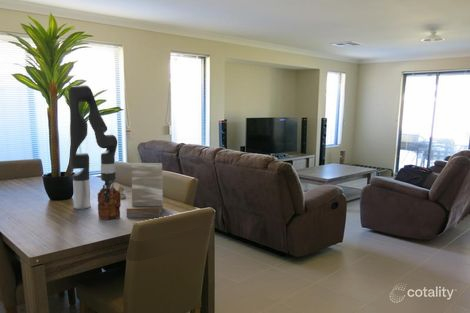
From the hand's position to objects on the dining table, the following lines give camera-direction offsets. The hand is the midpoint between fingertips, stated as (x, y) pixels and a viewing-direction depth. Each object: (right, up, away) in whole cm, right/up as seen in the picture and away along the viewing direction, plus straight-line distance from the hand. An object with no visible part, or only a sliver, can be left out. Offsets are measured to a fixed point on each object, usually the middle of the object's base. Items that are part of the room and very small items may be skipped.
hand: (109, 200), depth 199 cm
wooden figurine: (0, -10, +1) cm, 10 cm away
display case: (+17, -8, +13) cm, 23 cm away
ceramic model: (-11, -3, +49) cm, 50 cm away
